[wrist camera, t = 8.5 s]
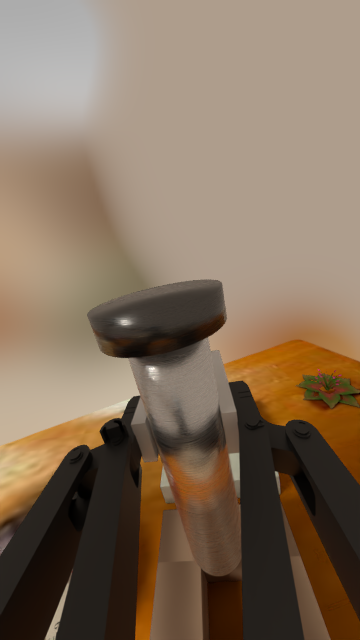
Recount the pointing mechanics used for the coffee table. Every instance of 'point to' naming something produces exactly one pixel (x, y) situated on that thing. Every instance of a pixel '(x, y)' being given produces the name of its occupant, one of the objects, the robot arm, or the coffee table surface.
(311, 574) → the coffee table surface
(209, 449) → the steel pin
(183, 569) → the brown square frame
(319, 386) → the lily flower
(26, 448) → the coffee table surface
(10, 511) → the coffee table surface
